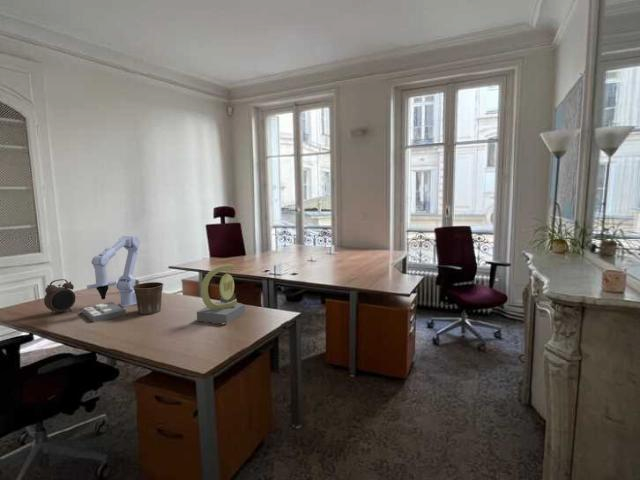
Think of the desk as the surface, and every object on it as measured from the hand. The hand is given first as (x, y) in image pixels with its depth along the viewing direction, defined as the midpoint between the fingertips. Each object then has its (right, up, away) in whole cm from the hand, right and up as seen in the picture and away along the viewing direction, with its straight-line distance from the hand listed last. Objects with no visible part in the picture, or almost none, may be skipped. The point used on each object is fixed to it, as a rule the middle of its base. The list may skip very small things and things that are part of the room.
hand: (103, 298), depth 202 cm
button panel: (0, -9, 0) cm, 9 cm away
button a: (-5, -8, +5) cm, 10 cm away
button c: (+6, -9, -5) cm, 11 cm away
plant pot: (+26, -8, +4) cm, 27 cm away
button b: (0, -7, 0) cm, 7 cm away
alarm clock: (-27, -9, +3) cm, 28 cm away
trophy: (+72, -9, -8) cm, 73 cm away
